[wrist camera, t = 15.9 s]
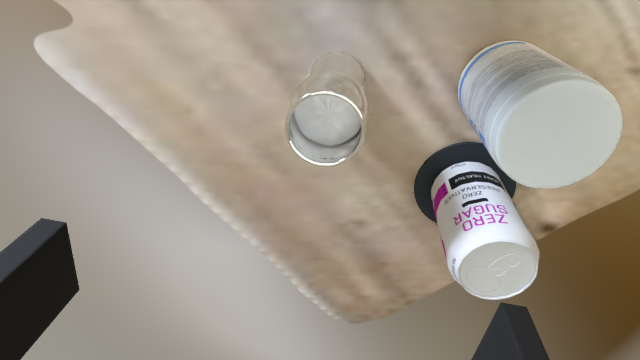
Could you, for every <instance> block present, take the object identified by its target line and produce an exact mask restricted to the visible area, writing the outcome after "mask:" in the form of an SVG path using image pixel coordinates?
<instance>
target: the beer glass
mask: <svg viewBox="0 0 640 360" xmlns="http://www.w3.org/2000/svg"><path fill="white" fill-rule="evenodd" d="M363 85H364V72H363V69H362V67H361V65H360V63H359V62H358V61H357V60H356V59H355V58H354V57H353V56H351V55H350V54H347V53H345V52H339V51H335V52H329V53H326V54H324V55H323V56H321V57H320V58H319V59H318V60H317V61H316V62H315V63H314V65H313V66H312V69H311V72H310V75H309V76H308V77H307V78H306V79H305V80H304V81H303V82H302V83H301V84H300V85H299V87H298V89H297V90H296V92H295V94H294V96H293V98H292V101H291V103H290V106H289V110H288V114H287V117H286V121H285V134H286V138H287V141H288V143H289V145H290V147H291V148H292V150H293V151H294V152H295V153H296V154H297V155H298V156H299V157H300V158H301V159H303V160H304V161H306V162H308V163H311V164H313V165H317V166H324V167H330V166H336V165H340V164H343V163H345V162H347V161H349V160H350V159H351V158H353V157H354V156H355V155H356V154H357V153H358V152H359V150H360V149H361V147H362V145H363V143H364V140H365V135H366V129H367V124H368V114H369V110H368V101H367V97H366V94H365V91H364V89H363Z"/></svg>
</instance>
